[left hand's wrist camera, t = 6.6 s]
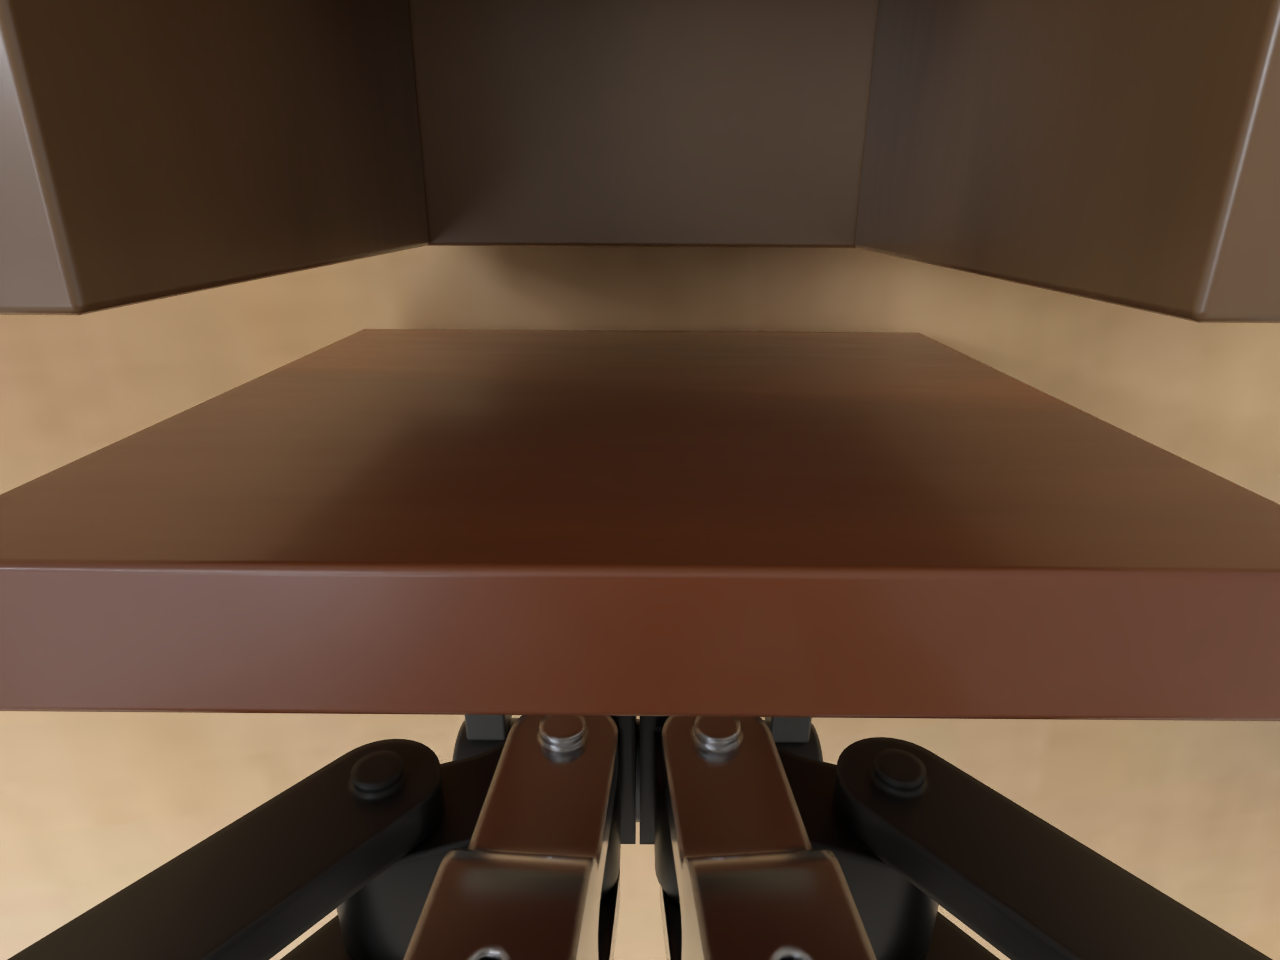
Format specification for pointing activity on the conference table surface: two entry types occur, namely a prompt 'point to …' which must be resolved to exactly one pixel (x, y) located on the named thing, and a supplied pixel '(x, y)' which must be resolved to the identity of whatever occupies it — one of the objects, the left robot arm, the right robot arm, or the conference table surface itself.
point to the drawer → (641, 363)
